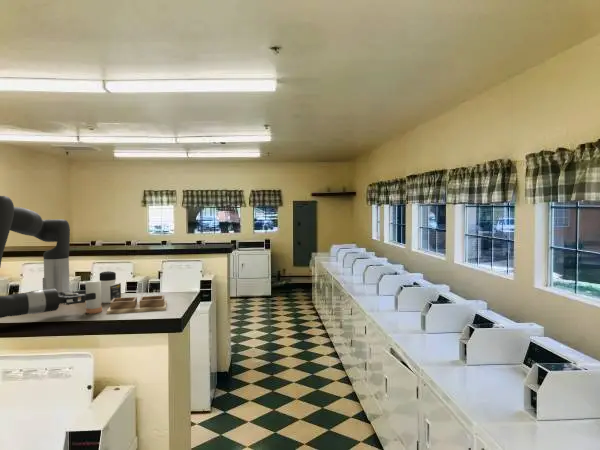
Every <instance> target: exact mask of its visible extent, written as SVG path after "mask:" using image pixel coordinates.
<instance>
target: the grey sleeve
mask: <svg viewBox="0 0 600 450" xmlns="http://www.w3.org/2000/svg"><path fill="white" fill-rule="evenodd" d="M85 291H86V294H89V293H95V294H96V299H93V300H86V301H85V303H86V304H85V314H88V313H89V314H92V313H93V314H98V313H102V312H103V306H102V303H101V281H100V280H88V281H85ZM93 314H92V315H93Z"/></svg>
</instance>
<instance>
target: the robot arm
mask: <svg viewBox="0 0 600 450" xmlns="http://www.w3.org/2000/svg"><path fill="white" fill-rule="evenodd" d="M10 231H11V232H14V233H16V234H20V235H25V236H28V237H34V238H36V239H38V240H40V241H42V242H45V243H56V246H54V247H53V248H51V249H49V250H46V251H44V252H43V256H42V257H43V278H42V289H39V290H38V289H37V290H31V291H28V292H19V293H12V294H8V295H0V319H2V318H6V317H17V316H18V317H19V316H25V315H35V314H41V313H48V312H55V311H58V310H59V308H60V307H59V306H60V304H63V305H66V306H70V305H75V304H81V303H82V304H83V303H86V300H93V299H96V294H95V293H89V294H86V289H85V290H84V289H83V290H75V291H74V290H70V289H71V288H70V284H71V283H70V258H69V257H70V236H71V233H70V232H71V227H70V223H69V222H68V220H66V219H43V217H42V216H41V215H40V214H39V213H38V212H36V211H34V210H31V209H28V208H25V207H21V206H14V202H13V200H12V199H11V197H9V196H6V195H0V267H1V265H2V261H3V259H2V258H3V255H4V251H5V248H6V244H7V241H8V238H9V233H10ZM79 298H80V299H79Z"/></svg>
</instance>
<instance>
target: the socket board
mask: <svg viewBox="0 0 600 450" xmlns="http://www.w3.org/2000/svg"><path fill="white" fill-rule="evenodd" d="M167 302H168V300H165V295H163V294H162V295H147V296H141V297H140V299H139V301H138V297H137V296H132V297H131V296H129V297H121V298H113V299H112V301H111V302H110V303H109V305H110V306H109V308H107V310H106V314H107V315H110V314H126V313H141V312H142V313H143V312H159V311H166V310H167V305H168V304H167Z"/></svg>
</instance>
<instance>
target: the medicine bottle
mask: <svg viewBox="0 0 600 450" xmlns="http://www.w3.org/2000/svg"><path fill="white" fill-rule="evenodd" d="M116 275H117V273H116V272H115V271H113V270H112V271H111V270H110V271H108V270H107V271H102V272H100V273H99V281H101V304H110V302H111V301H112V299H113V298H122V285H121V282H116V281H117V278H116Z"/></svg>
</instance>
